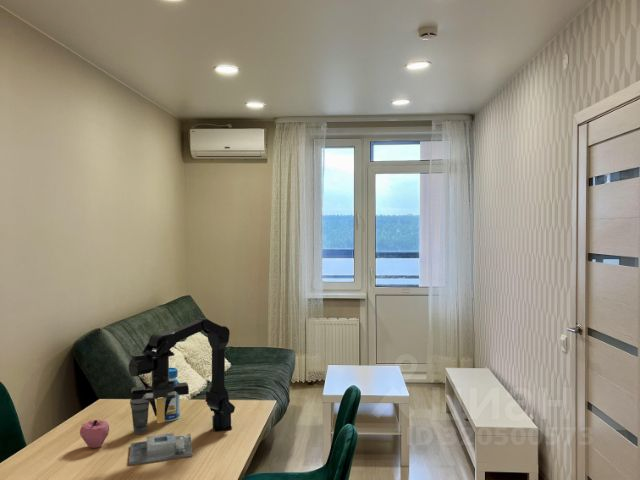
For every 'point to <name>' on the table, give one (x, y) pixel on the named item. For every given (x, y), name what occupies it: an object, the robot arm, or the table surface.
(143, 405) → the beverage cup
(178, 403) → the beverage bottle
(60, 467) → the table surface
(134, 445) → the gray tray
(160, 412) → the pale yellow rectangular prism
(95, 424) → the apple
